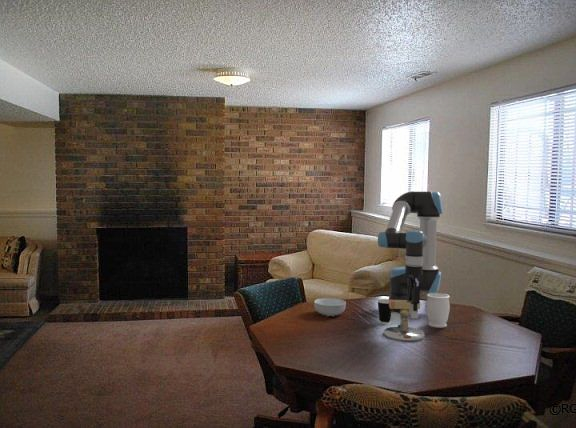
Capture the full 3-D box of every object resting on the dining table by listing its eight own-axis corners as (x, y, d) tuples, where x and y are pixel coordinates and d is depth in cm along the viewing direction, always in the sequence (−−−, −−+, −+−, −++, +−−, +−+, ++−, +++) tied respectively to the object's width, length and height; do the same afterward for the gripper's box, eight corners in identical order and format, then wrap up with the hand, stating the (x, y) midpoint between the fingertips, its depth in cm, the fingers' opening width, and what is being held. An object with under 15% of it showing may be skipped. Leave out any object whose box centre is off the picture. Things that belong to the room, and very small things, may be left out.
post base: (381, 329, 230) (381, 311, 229) (420, 330, 228) (420, 312, 228) (386, 341, 212) (386, 322, 211) (428, 342, 210) (428, 323, 210)
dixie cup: (396, 323, 239) (396, 301, 238) (383, 325, 235) (383, 303, 234) (386, 319, 246) (386, 298, 245) (373, 321, 242) (373, 299, 241)
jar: (446, 322, 240) (447, 293, 239) (451, 329, 230) (452, 297, 229) (424, 322, 241) (425, 292, 240) (428, 328, 231) (429, 297, 230)
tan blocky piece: (388, 325, 223) (388, 298, 223) (417, 326, 223) (417, 299, 222) (390, 330, 217) (390, 302, 216) (420, 330, 216) (420, 302, 215)
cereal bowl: (347, 319, 247) (347, 305, 246) (314, 319, 247) (314, 305, 246) (343, 310, 263) (344, 297, 263) (313, 310, 264) (313, 297, 263)
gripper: (401, 262, 226) (400, 311, 228) (410, 268, 209) (409, 321, 211) (417, 262, 227) (416, 311, 228) (427, 268, 209) (426, 321, 211)
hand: (413, 316), depth 219 cm, fingers closed on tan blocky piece, 4 cm apart
